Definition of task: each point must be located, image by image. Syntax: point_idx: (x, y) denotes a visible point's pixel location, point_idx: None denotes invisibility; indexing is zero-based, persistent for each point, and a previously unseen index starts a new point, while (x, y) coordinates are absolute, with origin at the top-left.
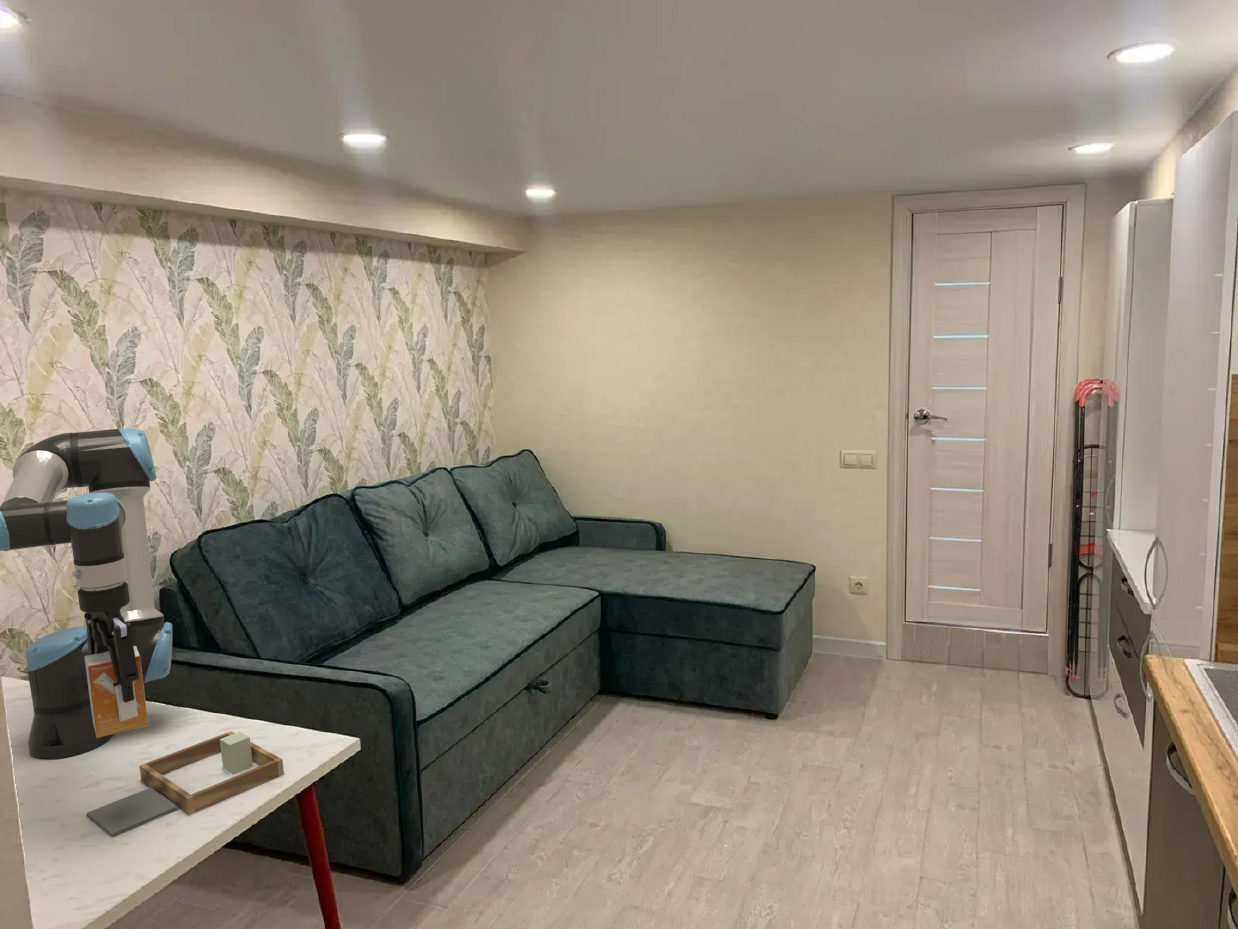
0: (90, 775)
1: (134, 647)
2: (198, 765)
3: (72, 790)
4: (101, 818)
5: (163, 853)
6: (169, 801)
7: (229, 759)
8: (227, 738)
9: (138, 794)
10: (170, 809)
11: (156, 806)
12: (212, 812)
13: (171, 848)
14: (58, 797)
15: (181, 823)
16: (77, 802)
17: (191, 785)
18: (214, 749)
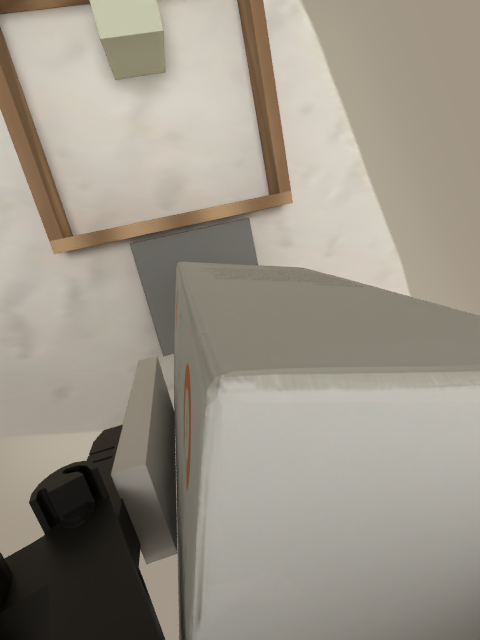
0: None
1: (324, 414)
2: (60, 123)
3: (27, 370)
4: None
5: (369, 268)
6: (218, 225)
7: (152, 56)
8: (110, 15)
9: (148, 269)
10: (251, 231)
11: (222, 250)
12: (301, 167)
13: (364, 255)
14: (46, 392)
15: (300, 224)
16: (92, 364)
17: (160, 168)
18: (7, 58)
